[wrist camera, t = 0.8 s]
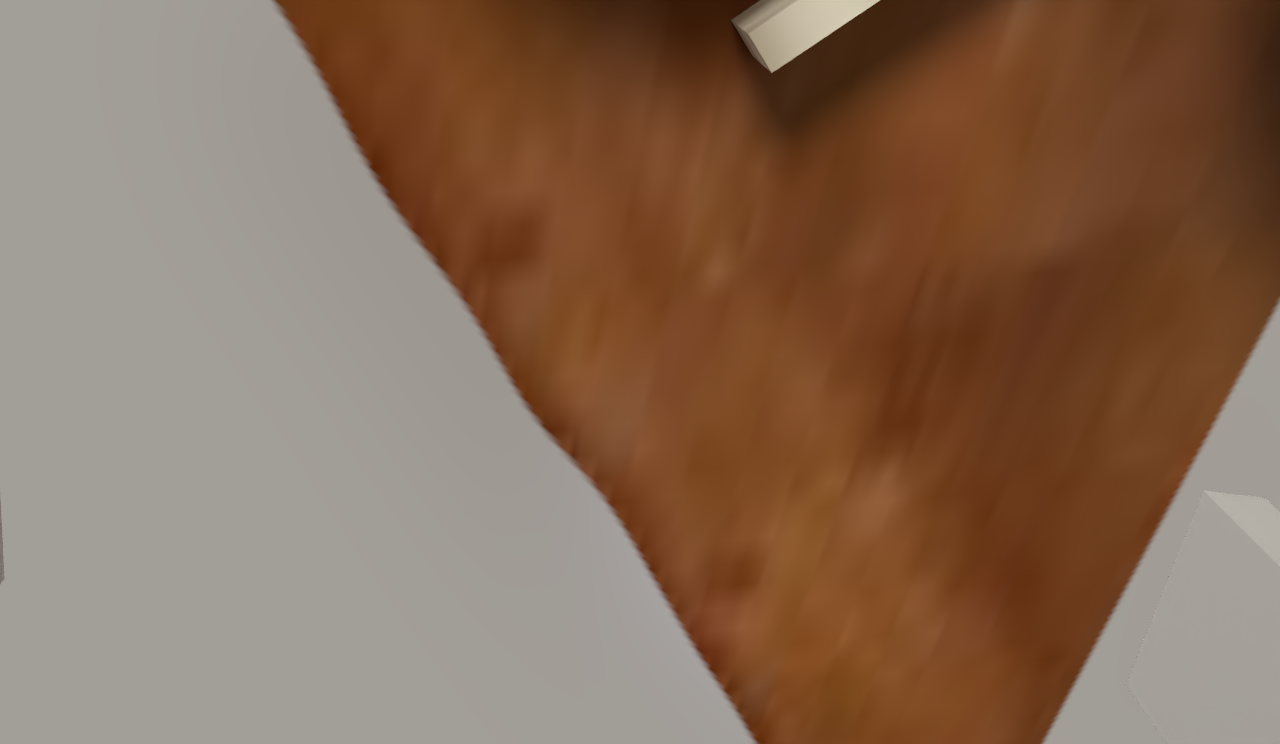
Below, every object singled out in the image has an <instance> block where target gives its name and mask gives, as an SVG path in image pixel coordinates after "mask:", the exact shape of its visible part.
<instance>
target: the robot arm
mask: <svg viewBox="0 0 1280 744" xmlns="http://www.w3.org/2000/svg"><path fill="white" fill-rule="evenodd" d="M3 580H4V564H3V542H2V522H1V502H0V584H1V582H2V581H3ZM1126 686H1127V687H1128V689H1129V690H1130V692H1131V693H1132V694H1133V696H1134V697H1135V699H1136V700H1137V702H1138V703H1139V705H1140V706H1141V707H1142V709H1143V710H1144V712H1145V713H1146V715H1147V716H1148V718H1149V719H1150V720H1151V722H1152V724H1153V725H1154V727H1155V728H1156V730H1157V731H1158V732H1159V734H1160V735H1161V737H1162V738H1163V739H1164V741H1165V743H1166V744H1280V511H1279V510H1277V509H1276V508H1275V507H1274V506H1273V505H1272V504H1271V503H1270V502H1268V500H1267V499H1265V498H1263V497H1254V496H1246V495H1237V494H1229V493H1220V492H1212V491H1203V493H1202V495H1201V498H1200V500H1199V503H1198V505H1197V508H1196V510H1195V513H1194V515H1193V518H1192V520H1191V523H1190V525H1189V528H1188V530H1187V533H1186V535H1185V538H1184V540H1183V543H1182V545H1181V548H1180V550H1179V553H1178V555H1177V557H1176V560H1175V562H1174V565H1173V568H1172V570H1171V572H1170V575H1169V578H1168V580H1167V582H1166V585H1165V588H1164V590H1163V593H1162V595H1161V597H1160V600H1159V603H1158V605H1157V608H1156V610H1155V612H1154V615H1153V617H1152V620H1151V622H1150V625H1149V627H1148V630H1147V632H1146V635H1145V637H1144V640H1143V642H1142V645H1141V648H1140V650H1139V652H1138V655H1137V657H1136V660H1135V663H1134V665H1133V667H1132V670H1131V673H1130V675H1129V677H1128V680H1127V682H1126Z"/></svg>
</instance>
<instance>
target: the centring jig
mask: <svg viewBox="0 0 1280 744" xmlns="http://www.w3.org/2000/svg"><path fill="white" fill-rule="evenodd" d="M878 1H880V0H760V1H758V2H757V3H755V4H754V5H752V6H751V7H749V8H748V9H746V10H745V11H743V12H742V13H741V14H739V15H738V16H736V17H735V18H733V19H732V20H731V21H732V23H733V24H734V26H735V28H736V29H737V31H738V33H739V34H740V36H741V38H742V39H743V41H744V43H745V44H746V46H747V48H748V49H749V51H750V53H751V54H752V56H753V57H754V58H755V59H756V60H758V61H759V62H760V63H761V64H762V65H763V66H764V67H765V68H767V69H768V70H769V71H770V72H771V73H773V72H774V71H776V70H777V69H779V68H780V67H782V66H783V65H785V64H786V63H788V62H789V61H791V60H792V59H793V58H795V57H796V56H798V55H799V54H801V53H802V52H804V51H805V50H807V49H808V48H810V47H811V46H813V45H814V44H816V43H817V42H819V41H820V40H822V39H823V38H825V37H826V36H828V35H829V34H831V33H832V32H834V31H835V30H837V29H838V28H840V27H841V26H843V25H844V24H846V23H847V22H849V21H850V20H852V19H853V18H855V17H856V16H858V15H859V14H860V13H862V12H863V11H865V10H866V9H868V8H869V7H871V6H872V5H874V4H875V3H877V2H878Z"/></svg>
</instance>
